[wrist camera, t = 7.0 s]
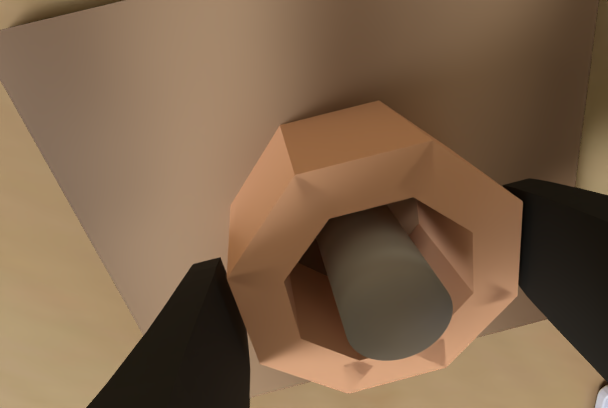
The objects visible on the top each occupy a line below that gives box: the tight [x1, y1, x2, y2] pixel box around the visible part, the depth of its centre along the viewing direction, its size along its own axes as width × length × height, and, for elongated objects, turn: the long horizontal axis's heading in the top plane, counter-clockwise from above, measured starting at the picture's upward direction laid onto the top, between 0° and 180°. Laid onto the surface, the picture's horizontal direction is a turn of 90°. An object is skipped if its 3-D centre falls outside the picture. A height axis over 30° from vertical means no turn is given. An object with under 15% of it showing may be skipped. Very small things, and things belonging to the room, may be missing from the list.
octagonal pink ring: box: [227, 100, 523, 394], centre depth 9 cm, size 6×6×3 cm
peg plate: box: [0, 0, 599, 398], centre depth 9 cm, size 13×12×5 cm
